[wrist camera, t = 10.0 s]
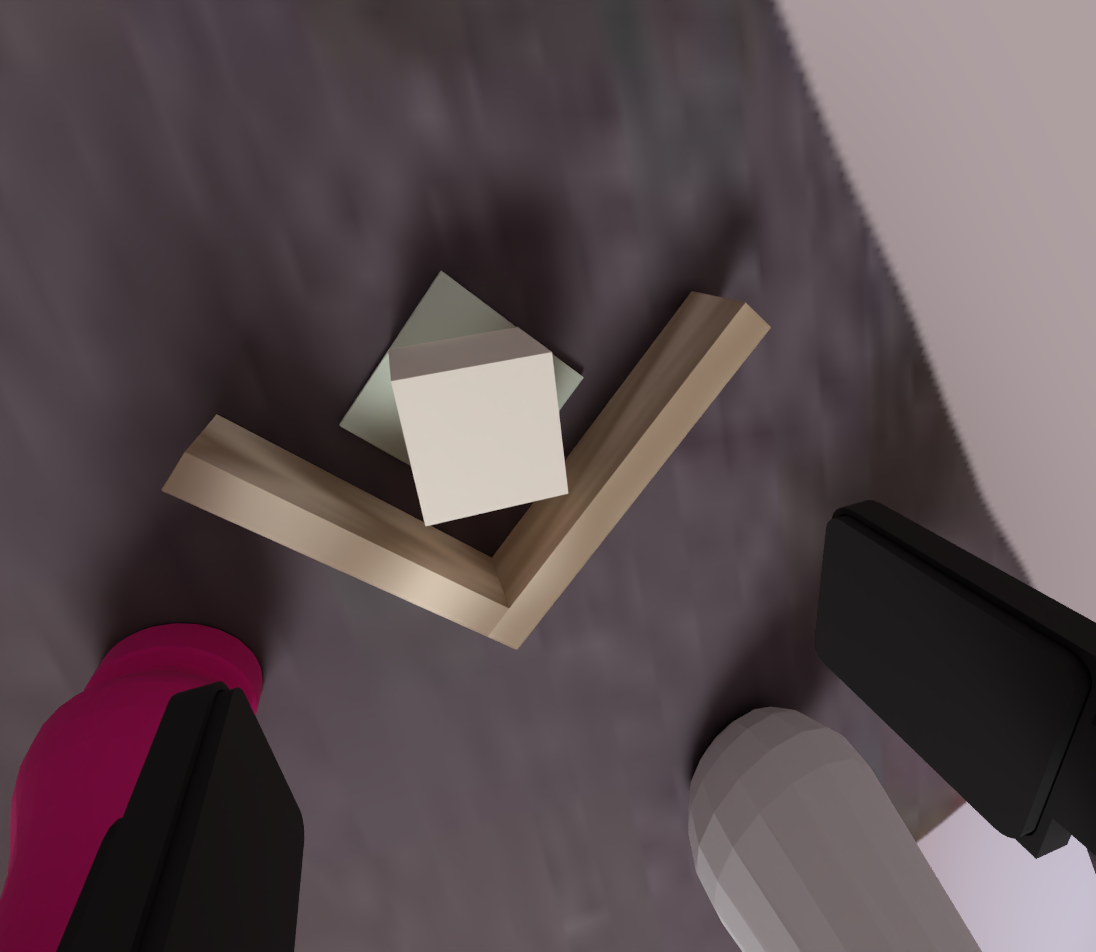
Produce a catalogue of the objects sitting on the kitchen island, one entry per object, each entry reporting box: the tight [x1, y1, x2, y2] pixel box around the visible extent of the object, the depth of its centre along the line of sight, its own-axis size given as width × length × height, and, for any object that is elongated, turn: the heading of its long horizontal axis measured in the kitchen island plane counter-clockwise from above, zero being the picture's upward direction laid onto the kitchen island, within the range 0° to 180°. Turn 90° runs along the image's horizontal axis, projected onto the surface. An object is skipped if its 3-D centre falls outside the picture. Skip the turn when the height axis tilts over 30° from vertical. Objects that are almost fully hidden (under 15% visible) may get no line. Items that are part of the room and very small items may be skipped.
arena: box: [161, 271, 771, 650], centre depth 22 cm, size 14×16×4 cm
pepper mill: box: [0, 623, 263, 952], centre depth 16 cm, size 7×7×20 cm
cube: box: [388, 327, 568, 526], centre depth 21 cm, size 5×5×5 cm
